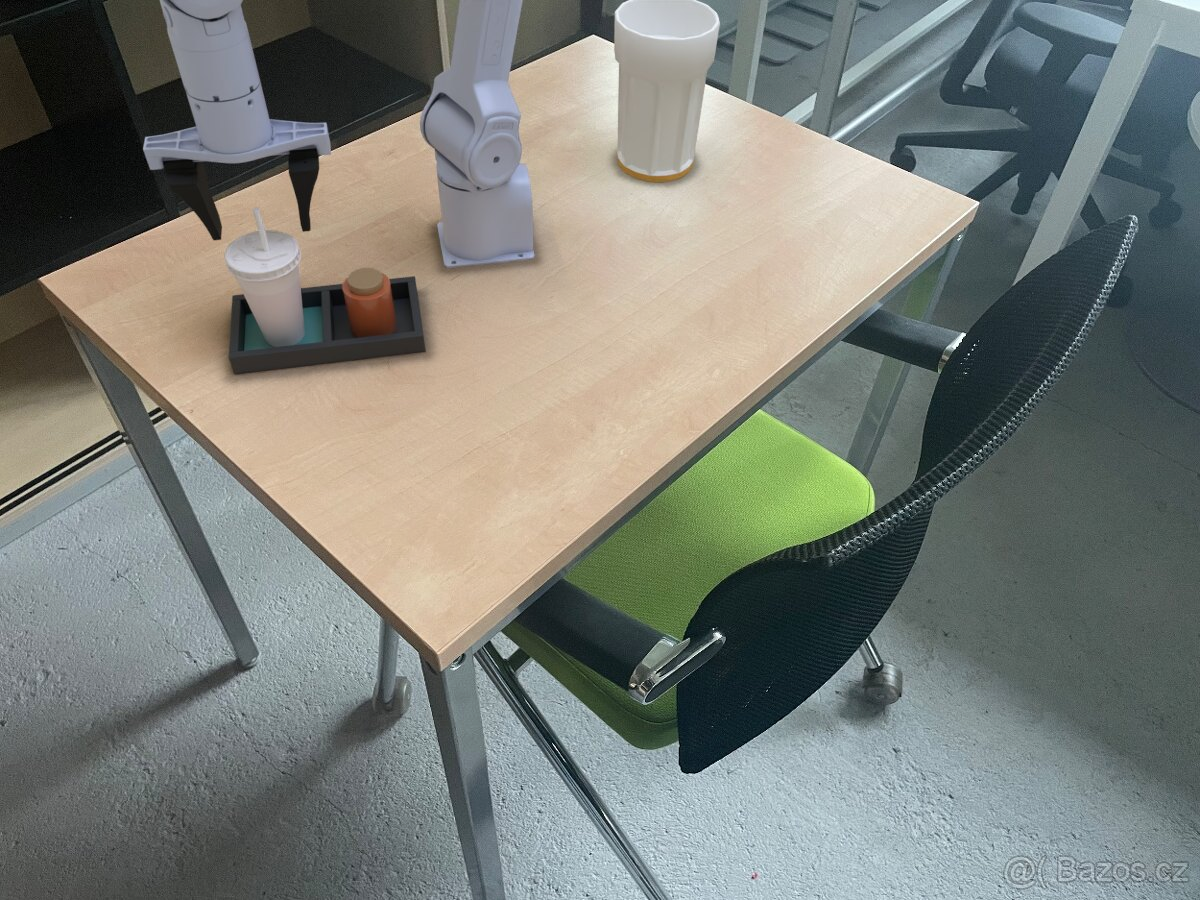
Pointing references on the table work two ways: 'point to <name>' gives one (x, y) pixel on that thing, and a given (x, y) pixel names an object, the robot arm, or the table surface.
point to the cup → (661, 83)
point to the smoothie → (270, 281)
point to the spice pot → (369, 303)
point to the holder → (325, 332)
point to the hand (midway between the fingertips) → (262, 229)
